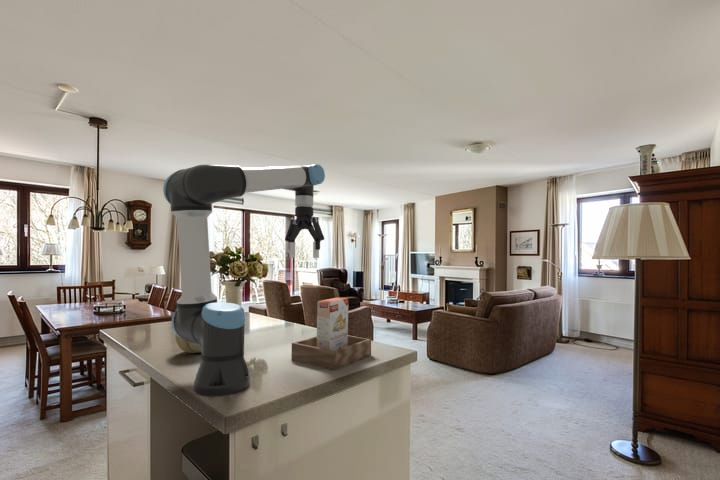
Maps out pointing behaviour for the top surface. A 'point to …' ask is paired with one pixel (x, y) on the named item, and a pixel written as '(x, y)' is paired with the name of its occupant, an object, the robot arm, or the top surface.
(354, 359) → the box
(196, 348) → the cantaloupe
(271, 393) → the top surface
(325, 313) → the cracker box
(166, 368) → the top surface
